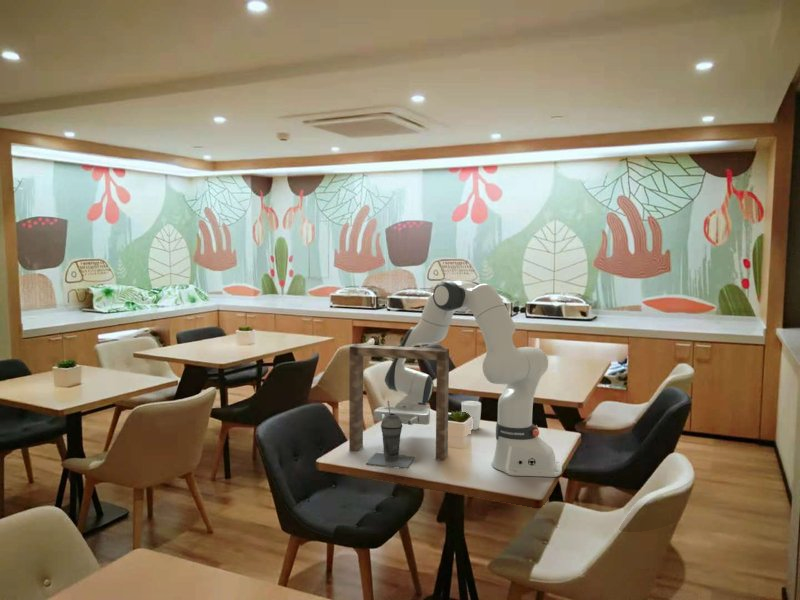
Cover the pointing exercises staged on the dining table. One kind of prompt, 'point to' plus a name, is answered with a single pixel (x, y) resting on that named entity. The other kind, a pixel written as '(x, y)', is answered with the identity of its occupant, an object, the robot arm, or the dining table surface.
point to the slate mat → (380, 460)
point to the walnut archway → (397, 352)
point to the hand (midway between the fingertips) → (396, 421)
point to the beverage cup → (391, 436)
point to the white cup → (472, 411)
